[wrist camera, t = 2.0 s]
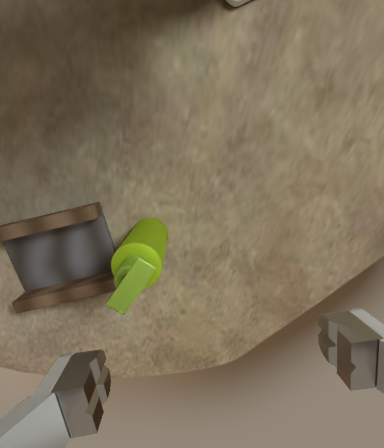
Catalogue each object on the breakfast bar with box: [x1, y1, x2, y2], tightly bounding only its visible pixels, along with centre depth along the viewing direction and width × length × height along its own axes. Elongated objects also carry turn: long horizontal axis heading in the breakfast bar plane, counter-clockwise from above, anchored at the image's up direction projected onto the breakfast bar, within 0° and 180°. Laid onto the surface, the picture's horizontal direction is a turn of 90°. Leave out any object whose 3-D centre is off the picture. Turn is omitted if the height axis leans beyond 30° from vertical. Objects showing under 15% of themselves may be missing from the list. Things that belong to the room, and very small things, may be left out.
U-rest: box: [0, 202, 116, 313], centre depth 38 cm, size 17×14×4 cm
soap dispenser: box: [106, 218, 168, 315], centre depth 30 cm, size 6×7×20 cm
